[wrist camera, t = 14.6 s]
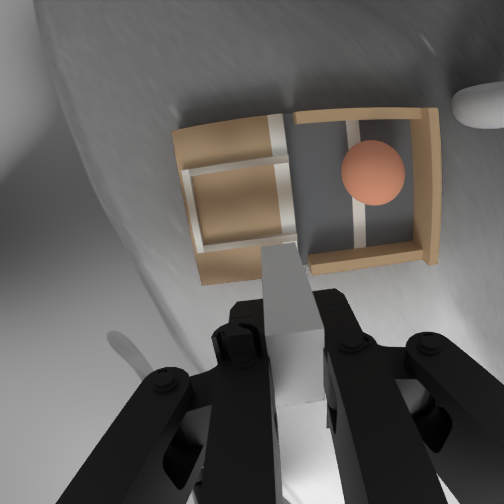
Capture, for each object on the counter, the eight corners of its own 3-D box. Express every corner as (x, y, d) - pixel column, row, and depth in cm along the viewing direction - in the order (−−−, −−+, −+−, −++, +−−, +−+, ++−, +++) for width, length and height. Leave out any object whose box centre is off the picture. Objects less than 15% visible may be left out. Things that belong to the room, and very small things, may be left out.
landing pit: (418, 246, 30) (437, 263, 26) (297, 263, 31) (302, 284, 27) (414, 109, 25) (437, 108, 21) (280, 114, 26) (284, 111, 22)
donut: (438, 129, 26) (503, 137, 16) (427, 96, 25) (491, 91, 15) (501, 109, 24) (564, 115, 15) (492, 80, 23) (555, 77, 14)
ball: (381, 224, 23) (322, 192, 25) (396, 208, 27) (345, 182, 29) (409, 160, 20) (343, 130, 22) (418, 155, 24) (363, 130, 26)
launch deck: (297, 263, 31) (300, 276, 28) (205, 274, 32) (200, 288, 29) (280, 114, 26) (282, 112, 23) (178, 130, 26) (169, 131, 24)
